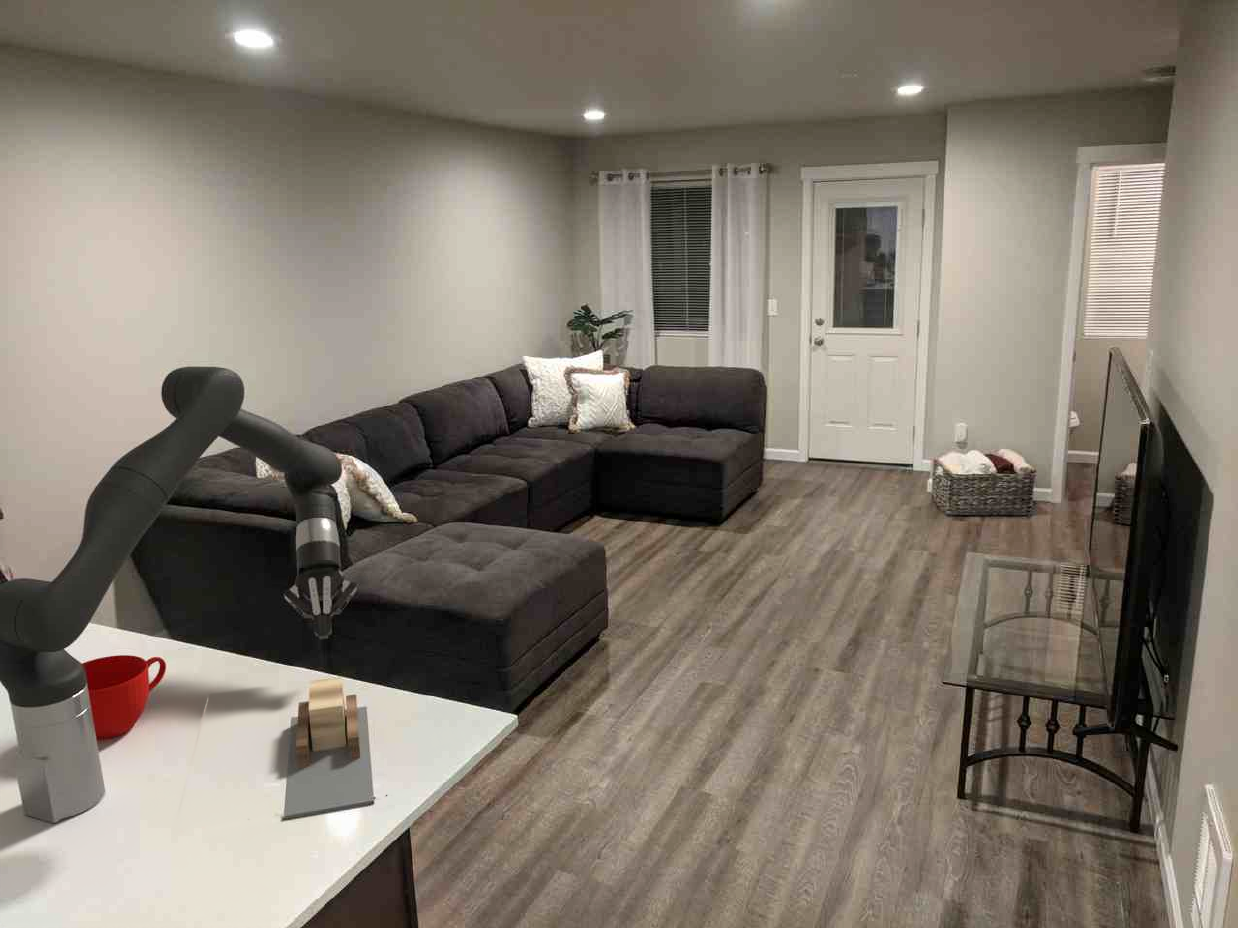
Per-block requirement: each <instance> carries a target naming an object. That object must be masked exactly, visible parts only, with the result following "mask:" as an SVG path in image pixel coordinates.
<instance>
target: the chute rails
mask: <svg viewBox="0 0 1238 928" xmlns="http://www.w3.org/2000/svg"><path fill="white" fill-rule="evenodd" d="M345 702H346V703H345V705H346V706H345V710H347V738H348V749H349V759H355V758H360V743H359V726H358V710H357V708H358V702H357V694H350V695H346V696H345ZM297 709H298V711H297V717H298V723H297V739H296V752H297V761H298V768H300V767H306V766H309V765H310V738H311V728H310V719H309V700H306V701H300V702H298V708H297Z"/></svg>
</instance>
